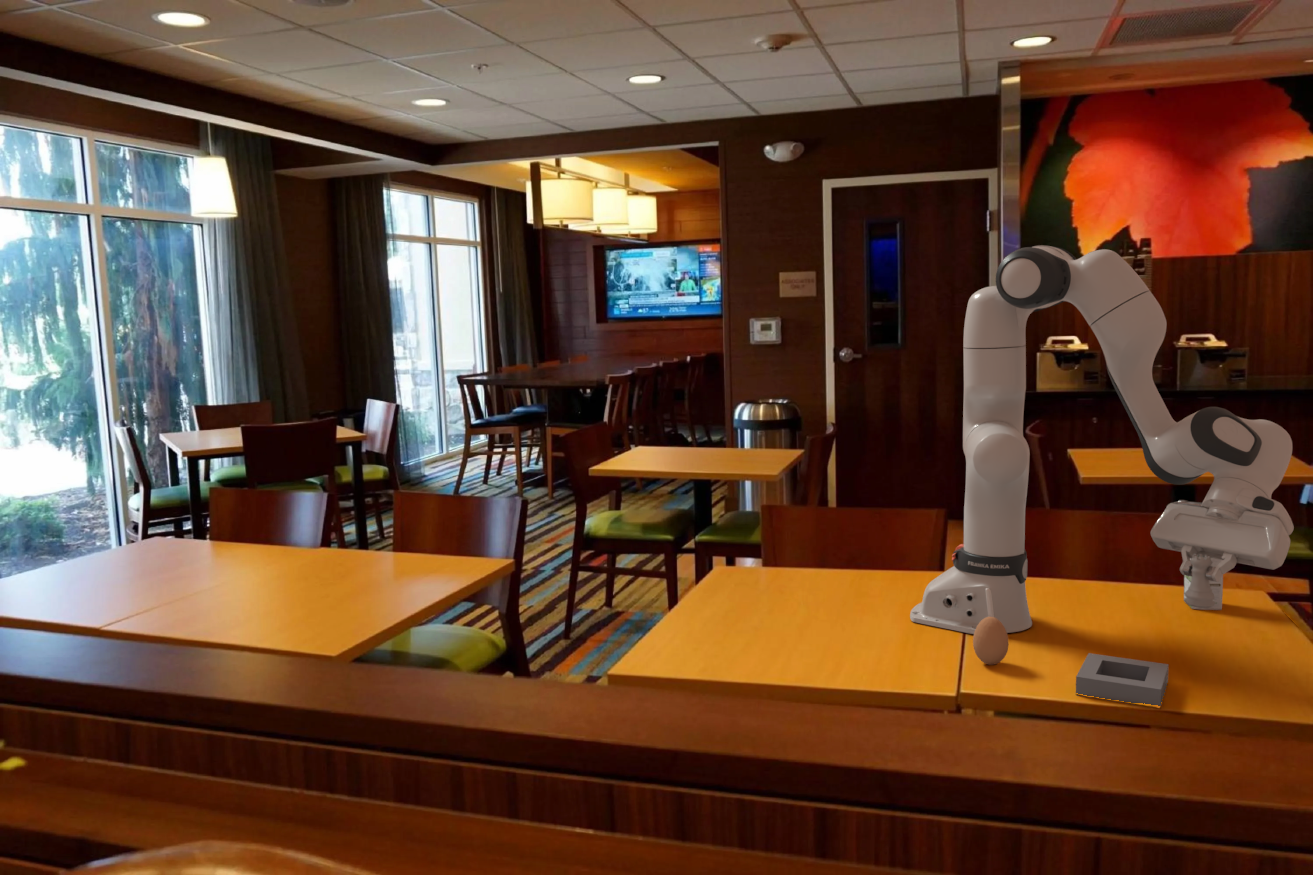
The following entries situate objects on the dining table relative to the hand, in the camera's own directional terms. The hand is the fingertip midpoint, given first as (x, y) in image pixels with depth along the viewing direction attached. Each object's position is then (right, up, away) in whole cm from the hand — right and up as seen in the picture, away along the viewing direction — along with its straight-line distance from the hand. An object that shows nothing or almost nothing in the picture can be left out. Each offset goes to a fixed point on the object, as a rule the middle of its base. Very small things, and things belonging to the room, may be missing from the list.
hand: (1198, 576), depth 165 cm
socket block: (-12, -18, -1) cm, 22 cm away
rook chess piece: (+1, -5, +1) cm, 5 cm away
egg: (-29, -17, +12) cm, 36 cm away
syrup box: (+22, -11, +40) cm, 47 cm away
